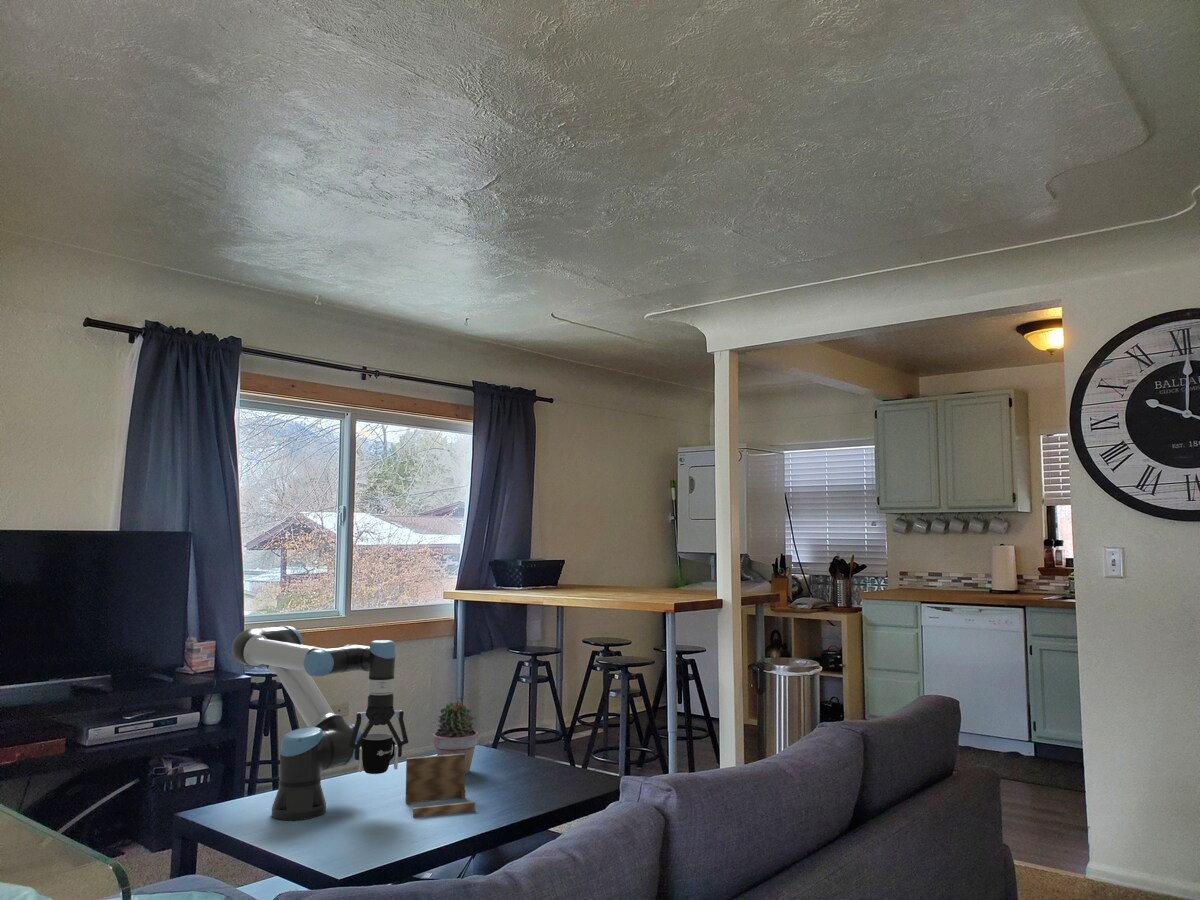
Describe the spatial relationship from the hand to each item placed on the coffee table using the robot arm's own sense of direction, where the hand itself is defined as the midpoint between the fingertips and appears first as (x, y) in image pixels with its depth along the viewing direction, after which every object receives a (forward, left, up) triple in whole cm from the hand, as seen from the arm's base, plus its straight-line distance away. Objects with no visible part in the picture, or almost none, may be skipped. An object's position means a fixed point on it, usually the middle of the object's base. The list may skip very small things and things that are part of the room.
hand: (377, 769), depth 260 cm
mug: (+1, 0, 0) cm, 1 cm away
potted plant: (+30, +39, -12) cm, 51 cm away
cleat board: (+18, -2, -12) cm, 22 cm away
